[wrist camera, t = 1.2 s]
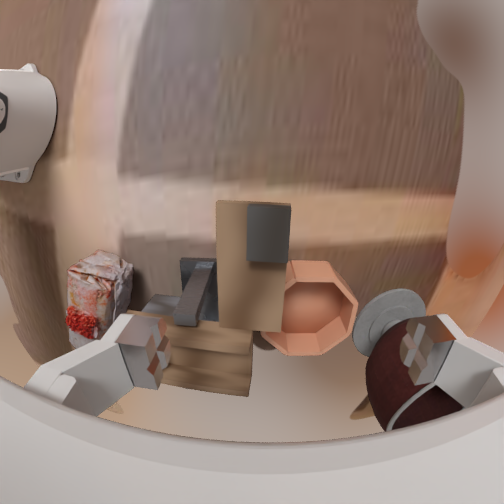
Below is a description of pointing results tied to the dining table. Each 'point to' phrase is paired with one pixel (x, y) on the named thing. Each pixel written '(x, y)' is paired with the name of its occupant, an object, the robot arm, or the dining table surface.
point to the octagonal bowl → (313, 310)
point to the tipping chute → (231, 300)
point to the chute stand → (197, 292)
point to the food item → (96, 295)
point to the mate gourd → (396, 363)
